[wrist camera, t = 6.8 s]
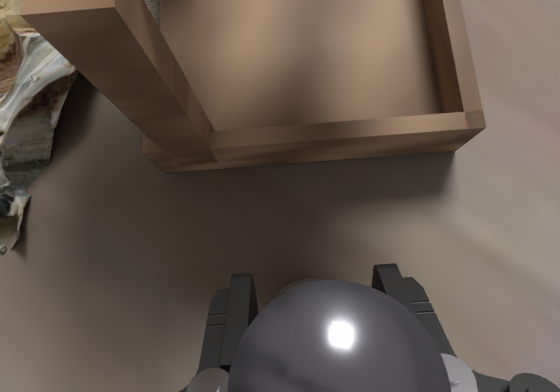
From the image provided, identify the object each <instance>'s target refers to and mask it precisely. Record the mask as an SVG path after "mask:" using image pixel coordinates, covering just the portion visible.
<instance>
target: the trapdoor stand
mask: <svg viewBox="0 0 560 392" xmlns="http://www.w3.org/2000/svg"><path fill="white" fill-rule="evenodd" d="M20 16H21V17H22V18H23V19H24V20H25V21H26V22H27V23H29V24H30V25H31V26H32V27H33V28H34V29H35V30H36V31H37V32H38V33H39V34H40V35H41V36H42V37H43V38H44V39H45V40H46V41H48V42H49V43H50V44H51V45H52V46H53V47H54V48H55V49H56V50H57V51H58V52H59V53H60V54H61V55H62V56H63V57H64V58H65V59H67V60H68V61H69V62H70V63H71V64H72V65H73V66H74V67H75V68H76V69H77V70H78V71H79V72H80V73H81V74H82V75H83V76H84V77H86V78H87V79H88V80H89V81H90V82H91V83H92V84H93V85H94V86H95V87H96V88H97V89H98V90H99V91H100V92H101V93H102V94H103V95H105V96H106V97H107V98H108V99H109V100H110V101H111V102H112V103H113V104H114V105H115V106H116V107H117V108H118V109H119V110H120V111H121V112H122V113H123V114H125V115H126V116H127V117H128V118H129V119H130V120H131V121H132V122H133V123H134V124H135V125H136V126H137V127H138V128H139V129H140V130H141V131H142V132H144V133H145V134H146V135H147V136H144V137H142V154H143V155H144V156H145V157H146V158H148V159H149V160H150V161H151V162H153V163H154V164H155V165H156V166H158V167H159V168H160V169H161V170H163V171H164V172H165V173H169V172H182V171H195V170H209V169H222V168H235V167H249V166H262V165H275V164H289V163H302V162H315V161H329V160H342V159H355V158H369V157H382V156H395V155H409V154H422V153H436V152H449V151H456V150H458V149H459V148H460V147H461V146H463V145H464V144H465V143H467V142H468V141H469V140H471V139H472V138H473V137H474V136H476V135H477V134H478V133H480V132H481V131H482V130H484V129H485V128H486V124H485V119H484V114H483V109H482V104H481V99H480V95H479V90H478V85H477V80H476V75H475V70H474V65H473V60H472V56H471V51H470V46H469V41H468V36H467V31H466V26H465V21H464V16H463V12H462V7H461V2H460V0H160V28H159V27H158V25H157V24H156V22H155V20H154V18H153V16H152V14H151V13H150V11H149V9H148V7H147V5H146V3H145V2H144V0H21V8H20Z"/></svg>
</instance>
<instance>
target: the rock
mask: <svg viewBox="0 0 560 392" xmlns="http://www.w3.org/2000/svg"><path fill="white" fill-rule="evenodd" d="M20 8H21V0H0V253H3V252H4V251H5V250H7V248H6V246H5V244H6V242H7V241H8V240H9V238H10V237H11V235H12V233H13V232H14V230H17V240H18V239H19V237H20V232H19V231H20V225H21V222H22V217H23V210H24V207H25V206H26V204H27V203H28V201H29V199H30V196H31V195H29V194H26V189H27V188H28V187H29V186H30V185H31V183H32V182H33V181H34V180H35V179H36V178H37V177H38V176H39V175H40V174H41V173H42V172H43V171H44V170H45V169H46V167H47V166H48V165H49V164H50V154H51V147H52V141H53V135H54V132H53V129H54V128H55V127H56V125H57V122H58V119H59V115H60V111H61V108H62V106H63V104H64V101H65V99H66V96H67V94H68V91H69V90H70V88H71V86H72V84H73V82H74V81H75V79H76V77H77V75H78V73H79V71H78V70H77V69H76V68H75V67H74V66H73V65H72V64H71V63H70V62H69V61H68V60H67V59H65V58H64V57H63V56H62V55H61V54H60V53H59V52H58V51H57V50H56V49H55V48H54V47H53V46H52V45H51V44H50V43H49V42H48V41H46V40H45V39H44V38H43V37H42V36H41V35H40V34H39V33H38V32H37V31H36V30H35V29H34V28H33V27H32V26H31V25H30V24H29V23H27V22H26V21H25V20H24V19H23V18H22V17H21V16H20ZM16 242H17V241H16ZM14 245H15V244H14ZM12 248H13V247H12Z"/></svg>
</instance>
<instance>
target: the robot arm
mask: <svg viewBox="0 0 560 392" xmlns="http://www.w3.org/2000/svg"><path fill="white" fill-rule="evenodd" d="M372 288H374V289H377V290H379V291H381V292H383V293H385V294H387V295H389V296H390V297H392V298H394V299H395V300H397V301H398V302H399V303H401V304H402V305H403V306H405V307H406V308H407V309H408V310H409V311H410V312H411V313H412V314H413V315H414V316H415V317H416V318H417V319H418V320H419V321H420V322H421V323H422V325H423V326H424V327H425V328H426V330H427V331H428V332H429V334H430V336H431V337H432V339H433V340H434V342H435V344H436V346H437V348H438V350H439V352H440V354H441V356H442V358H443V361H444V364H445V367H446V370H447V373H448V377H449V382H450V386H451V392H560V389H559V388H558V387H557V386H556V385H554V384H553V383H552V382H550V381H549V380H547V379H545V378H543V377H541V376H538V375H535V374H531V373H521V374H517V375H515V376H514V377H513V378H512V379H511V381H507V380H502V379H498V378H494V377H490V376H486V375H483V374H480V373H477V372H475V371H473V370H471V369H470V368H469V367H468V365H467V364H465V363H464V362H463V361H462V360H460V359H458V358H457V356H456V355H455V353H454V351H453V350H452V347H451V345H450V343H449V341H448V339H447V337H446V335H445V333H444V331H443V328H442V326H441V324H440V322H439V320H438V318H437V316H436V314H435V313H434V309H433V307H432V305H431V303H429V299H428V297H427V295H426V293H425V290H424V288H423V287H422V286H421V285H420V284H419V283H418V282H417V281H416V280H415V279H414V278H413V277H406V278H402V276H401V274H400V272H399V269H398V267H397V265H396V264H395V263H394V264H380V265H374V267H373V278H372ZM257 315H258V307H257V298H256V292H255V285H254V279H253V274H252V273H243V274H232V277H231V285H230V289H223V290H218V291H217V293H216V294H215V296H214V297H213V299H212V300H211V302H210V308H209V313H208V319H207V324H206V325H207V327H206V330H205V335H204V341H203V346H202V352H201V358H200V363H199V368H198V371H197V373H196V375H195V377H194V378H193V379H192V380H191V382H190V383H189V385H188V386H187V387H185V388H184V389H183V390H181V391H179V392H227V386H228V379H229V372H230V368H231V364H232V361H233V357H234V354H235V352H236V350H237V347H238V345H239V342H240V340H241V339H242V337H243V335H244V333H245V332H246V330H247V328H248V327H249V326H250V324H251V323H252V322H253V320H254V319H255V318H256V317H257Z"/></svg>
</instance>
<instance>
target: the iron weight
mask: <svg viewBox="0 0 560 392" xmlns="http://www.w3.org/2000/svg"><path fill="white" fill-rule="evenodd" d="M227 392H451V386H450V382H449V377H448V373H447V370H446V367H445V364H444V361H443V358H442V356H441V354H440V352H439V350H438V348H437V346H436V344H435V342H434V340H433V339H432V337H431V336H430V334H429V332H428V331H427V330H426V328H425V327H424V326H423V325H422V323H421V322H420V321H419V320H418V319H417V318H416V317H415V316H414V315H413V314H412V313H411V312H410V311H409V310H408V309H407V308H406V307H405V306H403V305H402V304H401V303H399V302H398V301H397V300H395V299H394V298H392V297H390V296H389V295H387V294H385V293H383V292H381V291H379V290H377V289H374V288H372V287H369V286H366V285H362V284H358V283H354V282H347V281H339V280H330V279H320V278H304V279H300V280H296V281H294V282H292V283H290V284H288V285H286V286H285V287H284V288H283V289H281V290H280V291H279V292H278V293H277V295H276V296H275V297H274V298H273V299H272V300H271V301H270V302H269V303H268V304H267V306H266V307H265V308H264V309H263V310H262V311H261V312H260V313H259V314H258V315H257V317H256V318H255V319H254V320H253V322H252V323H251V324H250V326H249V327H248V328H247V330H246V332H245V333H244V335H243V337H242V339H241V340H240V342H239V345H238V347H237V350H236V352H235V354H234V357H233V361H232V364H231V368H230V372H229V379H228V386H227Z"/></svg>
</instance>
